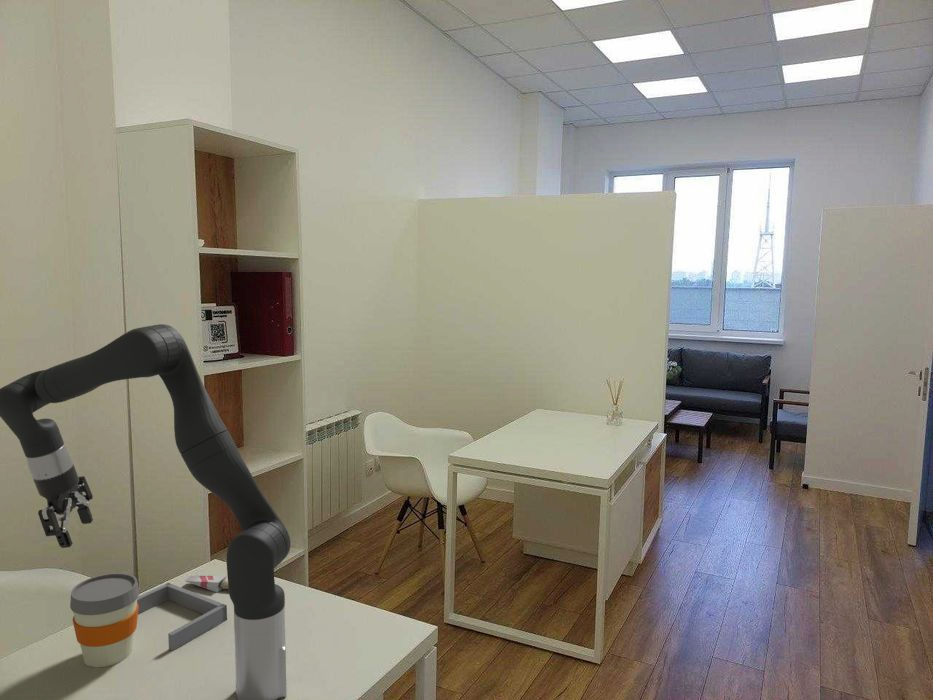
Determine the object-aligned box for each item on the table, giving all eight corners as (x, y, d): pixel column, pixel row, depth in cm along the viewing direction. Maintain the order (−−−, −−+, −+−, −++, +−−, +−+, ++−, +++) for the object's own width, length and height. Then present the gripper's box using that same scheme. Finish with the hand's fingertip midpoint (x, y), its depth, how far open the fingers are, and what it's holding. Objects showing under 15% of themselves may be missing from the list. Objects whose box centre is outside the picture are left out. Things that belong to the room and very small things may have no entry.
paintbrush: (192, 569, 171) (263, 582, 167) (192, 579, 172) (263, 592, 168) (183, 576, 168) (255, 589, 163) (183, 586, 168) (255, 600, 164)
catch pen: (172, 650, 141) (171, 635, 141) (113, 623, 151) (112, 608, 151) (227, 619, 154) (226, 605, 153) (168, 596, 163) (168, 582, 163)
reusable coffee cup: (134, 630, 148) (130, 567, 146) (148, 657, 139) (145, 589, 136) (68, 650, 140) (64, 583, 138) (79, 680, 131) (75, 608, 129)
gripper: (51, 484, 131) (77, 553, 137) (87, 449, 145) (110, 513, 150) (13, 489, 131) (41, 557, 137) (53, 454, 145) (77, 517, 150)
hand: (77, 534), depth 144 cm, fingers open, 8 cm apart
